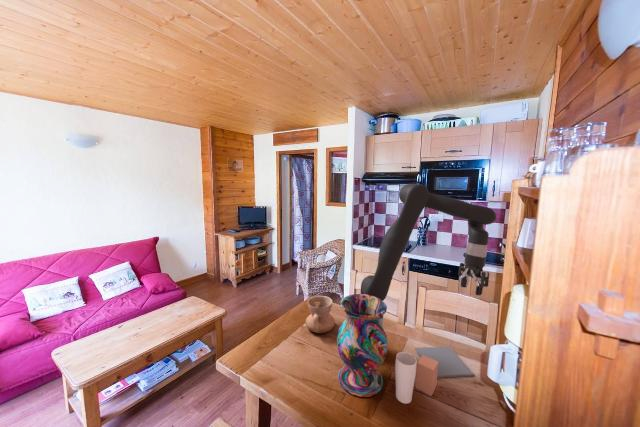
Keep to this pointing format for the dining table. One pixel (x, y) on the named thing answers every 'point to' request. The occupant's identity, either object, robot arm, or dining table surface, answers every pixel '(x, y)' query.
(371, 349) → the vase
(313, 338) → the dining table surface
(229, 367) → the dining table surface
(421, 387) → the brick block
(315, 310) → the ceramic jug
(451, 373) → the charcoal mat
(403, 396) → the drinking glass
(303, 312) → the dining table surface
